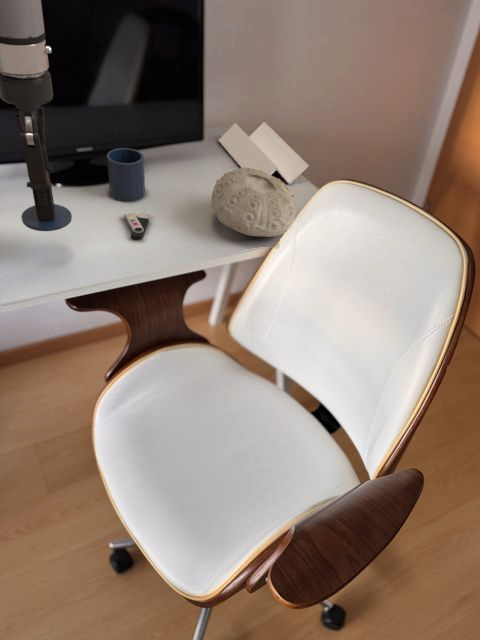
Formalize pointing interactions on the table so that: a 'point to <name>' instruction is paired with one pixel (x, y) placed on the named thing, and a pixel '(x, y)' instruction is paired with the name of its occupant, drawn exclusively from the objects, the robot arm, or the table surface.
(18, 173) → the table surface
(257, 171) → the decorative shell
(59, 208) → the lid
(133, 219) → the usb flash drive
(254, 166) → the z bracket
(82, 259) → the table surface
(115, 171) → the tin
